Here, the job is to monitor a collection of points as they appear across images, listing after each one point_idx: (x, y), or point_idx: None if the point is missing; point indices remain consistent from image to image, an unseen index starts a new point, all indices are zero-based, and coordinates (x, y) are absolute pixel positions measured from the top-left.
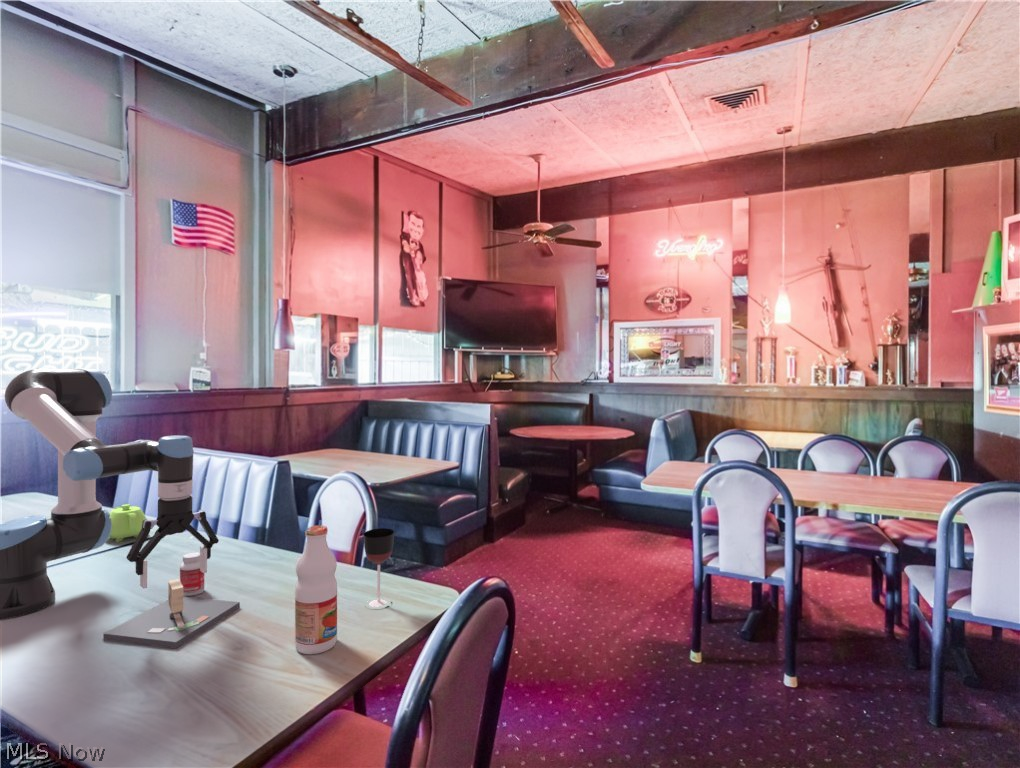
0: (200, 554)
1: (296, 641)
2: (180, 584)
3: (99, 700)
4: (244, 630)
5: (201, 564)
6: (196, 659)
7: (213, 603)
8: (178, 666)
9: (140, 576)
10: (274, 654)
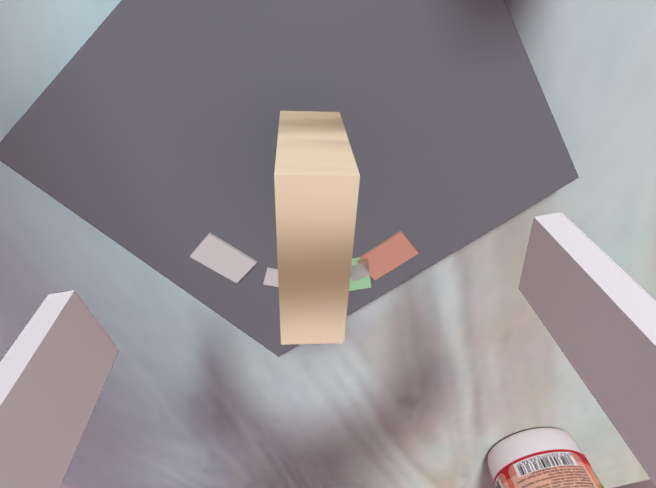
0: (651, 357)
1: (495, 476)
2: (339, 294)
3: (124, 443)
4: (465, 337)
5: (565, 293)
6: (315, 402)
7: (495, 113)
8: (274, 409)
9: (4, 367)
10: (450, 444)
